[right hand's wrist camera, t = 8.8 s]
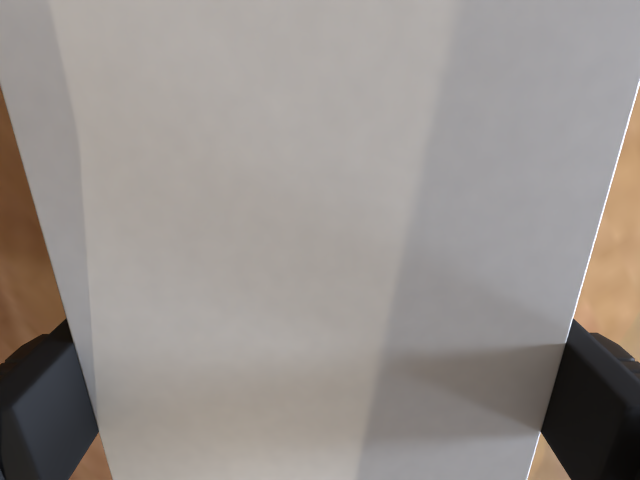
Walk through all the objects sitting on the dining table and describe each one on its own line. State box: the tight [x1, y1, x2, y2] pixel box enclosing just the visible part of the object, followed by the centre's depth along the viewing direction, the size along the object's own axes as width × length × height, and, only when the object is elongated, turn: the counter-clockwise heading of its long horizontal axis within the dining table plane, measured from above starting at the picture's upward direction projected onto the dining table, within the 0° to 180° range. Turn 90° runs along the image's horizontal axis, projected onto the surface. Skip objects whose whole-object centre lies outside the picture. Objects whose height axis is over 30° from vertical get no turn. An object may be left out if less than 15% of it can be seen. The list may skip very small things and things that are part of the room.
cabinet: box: [0, 0, 640, 480], centre depth 11 cm, size 19×11×8 cm, turn 0°
